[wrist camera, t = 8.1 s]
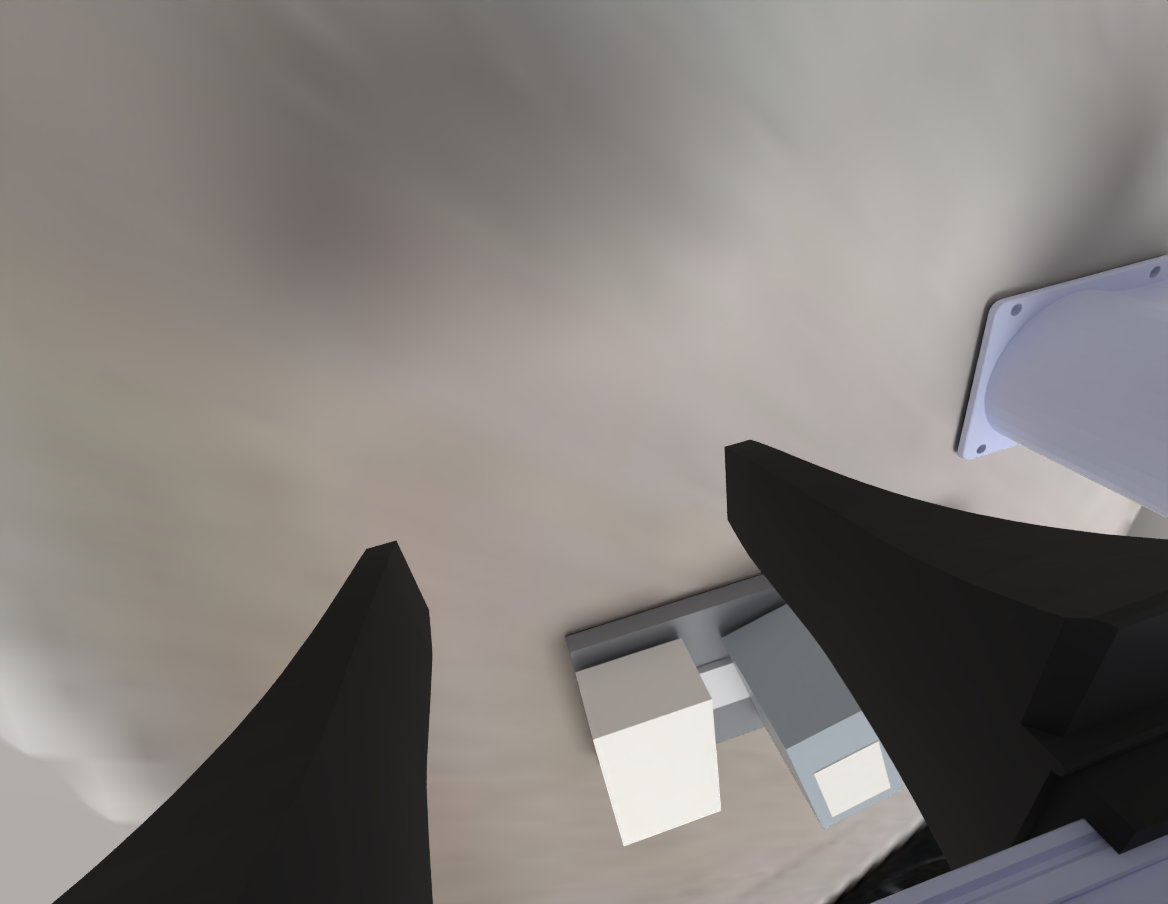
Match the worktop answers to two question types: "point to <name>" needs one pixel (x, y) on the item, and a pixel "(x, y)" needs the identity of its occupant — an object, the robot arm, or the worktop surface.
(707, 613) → the rail board
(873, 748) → the block
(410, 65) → the worktop surface
